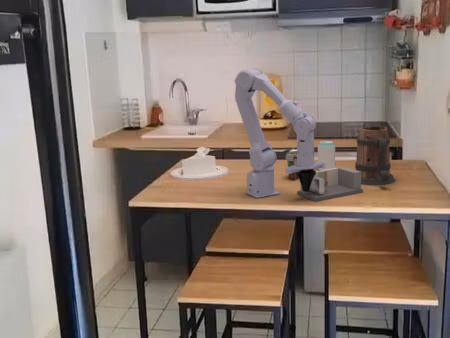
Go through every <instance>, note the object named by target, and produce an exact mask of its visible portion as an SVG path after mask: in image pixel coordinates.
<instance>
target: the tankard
mask: <svg viewBox="0 0 450 338" xmlns="http://www.w3.org/2000/svg"><path fill="white" fill-rule="evenodd" d="M390 143H391V138H390V135H389V129H388V127H387V126H373V125H372V126H363V127H359V129H358V134H357V138H356V144H357V145H356V160H355V163H354V164H355V166H354V168H355V170H357V171H360V172H361V186H373V187H374V186H387V185H392V184H394V183H396V181H397V180H396V179H395V176H393V174H392V173H391V168H392V167H391V162H390Z"/></svg>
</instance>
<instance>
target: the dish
mask: <svg viewBox="0 0 450 338" xmlns="http://www.w3.org/2000/svg"><path fill="white" fill-rule="evenodd" d="M210 149H211V148H210V147H209V148H208V147H205V146H200V147H198V148H196V149H195V151H196V153H194V155H192V156H190V157H188V158H187V157H186V158H185V159H182V161H181V167H179V168H178V167H177V168H174V169H173V170H171V171H170V177H171V178H173V179H174V180H180V181H189V182H190V181H205V180H212V179H213V178H214V179H217V178H218V177H219V178H221V176H222V177H224V176H223V175H225V176H227V174H229V168H228V167H227V166H226V167H225V166H223V165H218V164H216V156H213V155H209V152H210ZM216 168H218V170H217V169H216ZM219 169H220V170H219ZM219 178H218V179H219Z"/></svg>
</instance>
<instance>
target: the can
mask: <svg viewBox="0 0 450 338" xmlns="http://www.w3.org/2000/svg"><path fill="white" fill-rule="evenodd" d="M317 162H325V168H318V169H317V170H318V171H321V170H327V169H333V168H336V145H335V143H334V141H332V140H321V141H319V143H318V146H317Z"/></svg>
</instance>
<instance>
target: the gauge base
mask: <svg viewBox="0 0 450 338" xmlns="http://www.w3.org/2000/svg"><path fill="white" fill-rule="evenodd" d="M315 171H316V174H315V176H316V177H319V178H322V179H324V181H325V180H327V182H328V184H327V185H324V194H317V193H315V192H312V191H309V192H305V191H303V189H302V186H301V182H300V181H299V190H297V191H296V194H297V195H298V196H300V197H303V198H306V199H308V200H311V201H313V202H322V201H326V200H331V199H336V198H341V197H345V196H349V195H350V196H351V195H355V194H356V195H357V194H361V193H364V188H362V185H361V172H360V171H357V170H356V169H352V168H350V167H346V166H345V167H344V166H343V167H335V168H333V169H327V170H321V171H320V170H315Z"/></svg>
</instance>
